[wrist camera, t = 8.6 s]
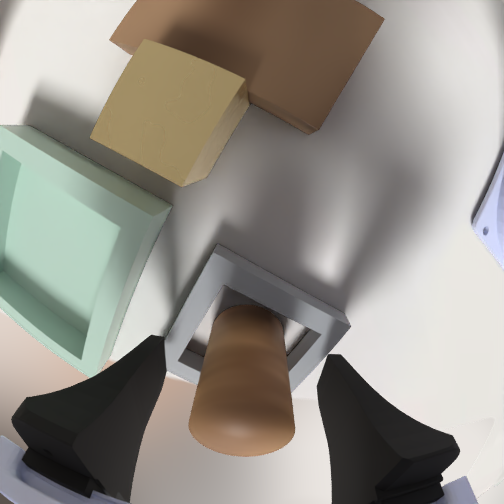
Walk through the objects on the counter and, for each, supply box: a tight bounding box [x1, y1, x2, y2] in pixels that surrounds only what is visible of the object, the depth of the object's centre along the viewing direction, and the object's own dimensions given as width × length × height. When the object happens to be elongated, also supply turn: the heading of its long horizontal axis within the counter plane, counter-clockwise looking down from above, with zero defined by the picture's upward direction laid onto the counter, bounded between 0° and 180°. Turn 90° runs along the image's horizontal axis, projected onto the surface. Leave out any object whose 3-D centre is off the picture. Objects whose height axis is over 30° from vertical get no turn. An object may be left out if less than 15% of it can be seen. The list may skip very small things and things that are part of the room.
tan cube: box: [90, 39, 250, 187], centre depth 9 cm, size 4×4×4 cm
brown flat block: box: [109, 0, 385, 135], centre depth 8 cm, size 9×6×2 cm, turn 61°
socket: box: [165, 243, 351, 392], centre depth 13 cm, size 7×7×1 cm
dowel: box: [189, 305, 295, 457], centre depth 11 cm, size 4×4×6 cm
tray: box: [0, 125, 173, 378], centre depth 11 cm, size 10×10×2 cm
